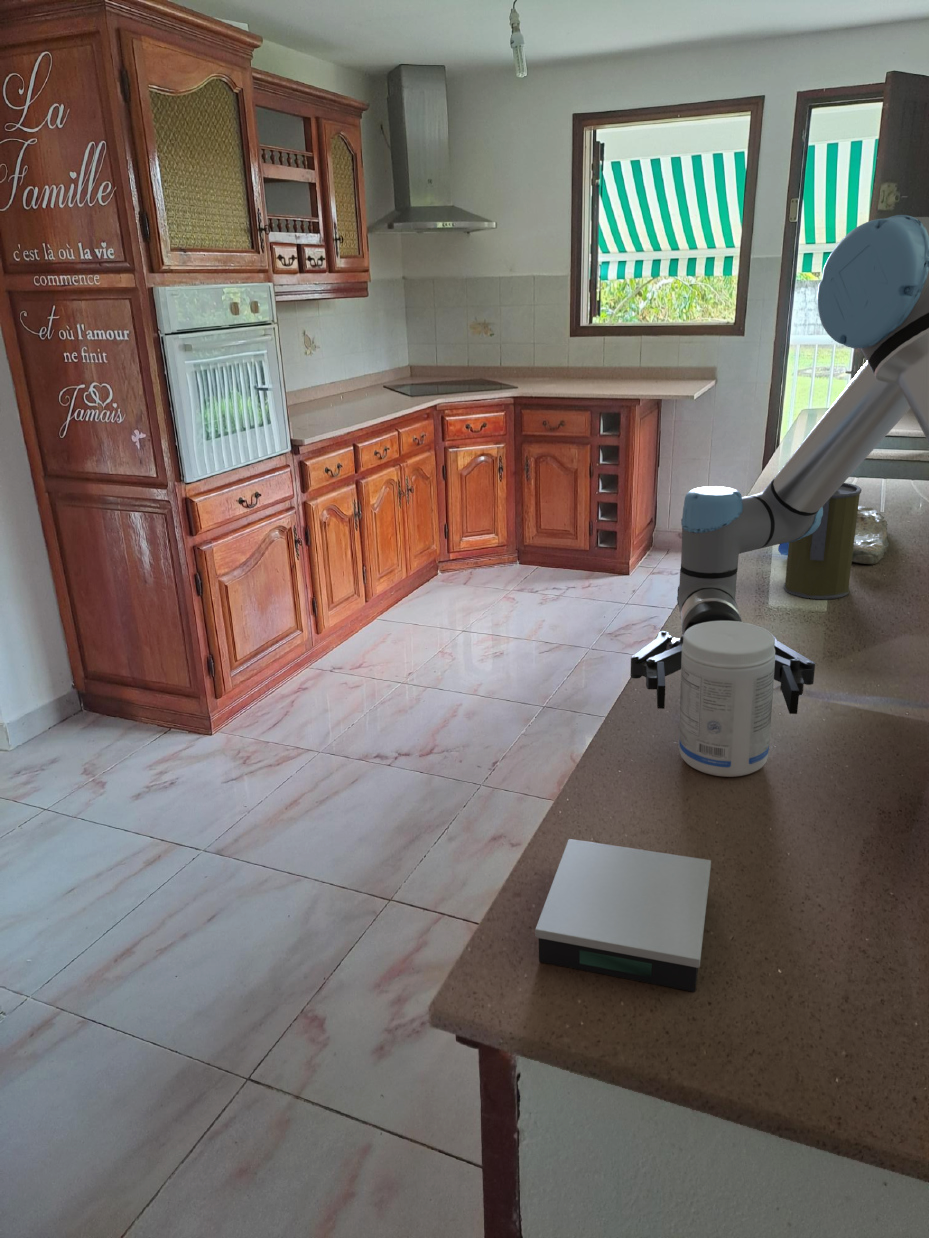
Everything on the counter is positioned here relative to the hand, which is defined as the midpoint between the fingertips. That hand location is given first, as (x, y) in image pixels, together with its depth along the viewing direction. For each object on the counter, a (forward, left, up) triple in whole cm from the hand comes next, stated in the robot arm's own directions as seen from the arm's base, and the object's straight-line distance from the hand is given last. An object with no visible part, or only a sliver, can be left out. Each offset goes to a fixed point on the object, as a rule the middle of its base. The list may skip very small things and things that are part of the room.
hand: (727, 700), depth 93 cm
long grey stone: (-21, -95, -8) cm, 98 cm away
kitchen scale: (+6, +28, -8) cm, 30 cm away
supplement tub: (0, -2, -8) cm, 8 cm away
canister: (-12, -63, -8) cm, 64 cm away
